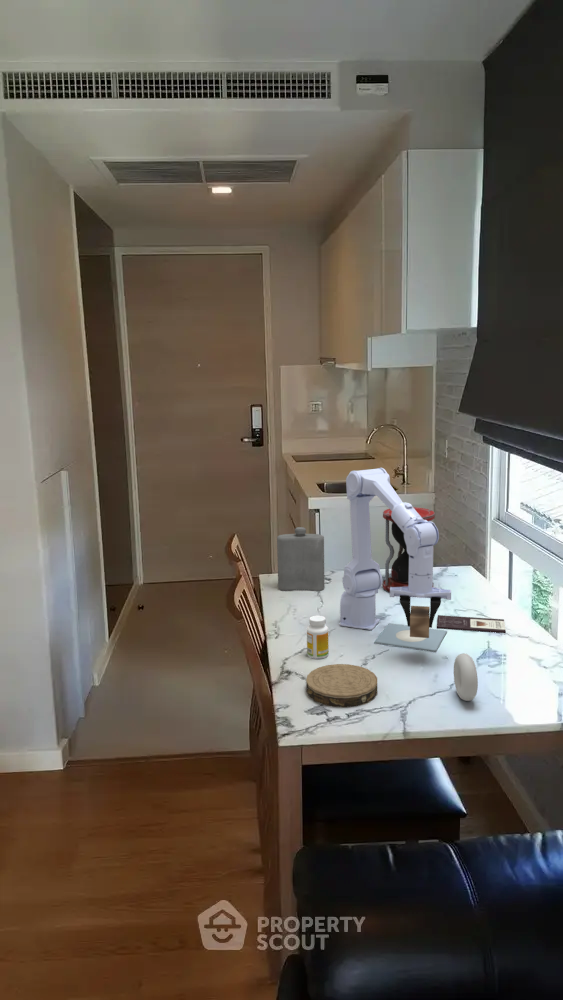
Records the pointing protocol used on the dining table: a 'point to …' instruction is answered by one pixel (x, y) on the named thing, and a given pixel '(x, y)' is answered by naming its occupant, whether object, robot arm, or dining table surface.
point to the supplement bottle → (317, 638)
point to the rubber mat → (410, 638)
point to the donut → (465, 677)
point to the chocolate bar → (471, 624)
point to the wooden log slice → (341, 685)
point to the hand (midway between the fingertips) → (419, 625)
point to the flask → (300, 561)
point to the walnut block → (419, 621)
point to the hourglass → (400, 551)
